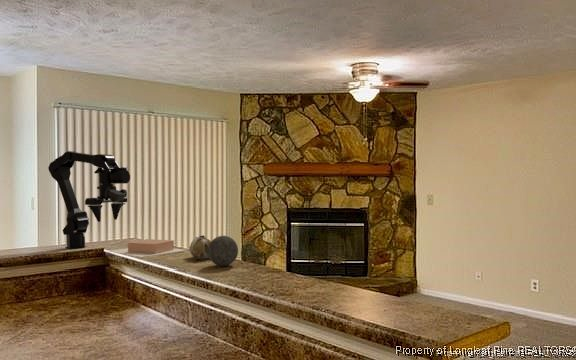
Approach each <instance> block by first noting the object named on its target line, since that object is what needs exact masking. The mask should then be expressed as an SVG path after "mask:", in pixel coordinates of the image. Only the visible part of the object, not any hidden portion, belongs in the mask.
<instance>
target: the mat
mask: <svg viewBox="0 0 576 360" xmlns="http://www.w3.org/2000/svg"><path fill="white" fill-rule="evenodd" d="M185 251H186V252H187V250H186V249H179V248H174V249H173V250H169V251H165V252H161V253H156V254H154V253H137V252H128V247H126V248H119V249H112V250H111V249H110V250H109V252H110V253H114V254H115V253H116V254H123V255H127V256H132V257H138V258H144V257H149V256H150V257H151V256H157V255H158V256H159V257H160V256H162V255H163V256H166V254H168V255H172V254H171V253H174V254H179V253H178V252H181V253H185Z"/></svg>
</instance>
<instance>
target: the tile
mask: <svg viewBox="0 0 576 360" xmlns="http://www.w3.org/2000/svg"><path fill="white" fill-rule="evenodd" d="M127 248H128V252H137V253H154V254H156V253H161V252H165V251H169V250H173V249H175V241H174V240H172V239H151V238H150V239H149V238H148V239H147V238H146V239H141V240H134V241H129V242H127Z"/></svg>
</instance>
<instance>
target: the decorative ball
mask: <svg viewBox="0 0 576 360" xmlns="http://www.w3.org/2000/svg"><path fill="white" fill-rule="evenodd" d="M210 241H211V243H210V245H209V247H208V255H209V258H208V259H210V261H211V262H212V263H213V264H214V265H217V266H220V267H227V266H229V265H231V264H233V263H234V262H235V260H236V259H237V257H238V256H239V255H238V254H239V247H238V244H237V243H236V241H235V240H234V239H233V238H232V237H230V236H228V235H219V236H217V237H215V238H214V239H212V240H210Z"/></svg>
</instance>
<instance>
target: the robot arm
mask: <svg viewBox="0 0 576 360" xmlns="http://www.w3.org/2000/svg"><path fill="white" fill-rule="evenodd" d="M75 162H78V163H84V164H85V163H86V164H91V165H93V166H94V167H97V169H96V170H94V174H98V186H96V189H97V190H98V191H99V195H97V196H96V197H86V198H85V200H84V205H85V206H87V207H88V208H89V209H90V211H91V212H92V214H93V215H94V218H95V219H96V221H97V223H101V218H102V214H101V213H102V211H101V210H102V208H103V206H104V205H103V204H105V203H110V205H111V211H112V216H113V217H112V218H113V220H114V221H117V220H118V217H119V213H120V210H121V208H122V207H123V206H124V205H126V203H128V195H127V194H128V191H127V189H120V190H118V189H117V187H116V185H117V184H118V185H119V184H121V185H123V184H124V185H125V184H128V183H129V182H130V180H131V173H130V172H129V170H128V167H126V166H125V167H122V166H121V167H120V165H119V164H118V162H117V161H116V159H115V157H114V155H113V154H103V153H101V154H100V153H98V154H91V153H83V152H77V151H74V150H72V151H71V150H70V151H69V150H67V151H65V152H63V154H62V155H60V156H58V157H56V158H55V159H54V160H53V161H51V162H50V163H49V164H48V167H47V169H48V171H49V173H50V176H51V177H52V178H53V180H55V182H57V185H58V187H59V190H60V193H61V195H62V199H63V202H64V204H65V208H66V210H67V216H66V225H65V226H64V227H63V229H62V233H63V235H64V236H65V235H66V246H65V249H69V250H75V249H81V248H86V239H85V234H86V233H87V230H88V228H89V227H88V226H89V225H90V218H89V217H88V212H87V211H86V210H85V211H84V210H81V209H80V206H79V203H78V201H77V200H78V199H77V198H76V195H75V191H74V188H73V185H72V183H71V179H70V177H71V173H72V172H71V169H72V168H73V167H74V165H75ZM114 184H116V185H114Z"/></svg>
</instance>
